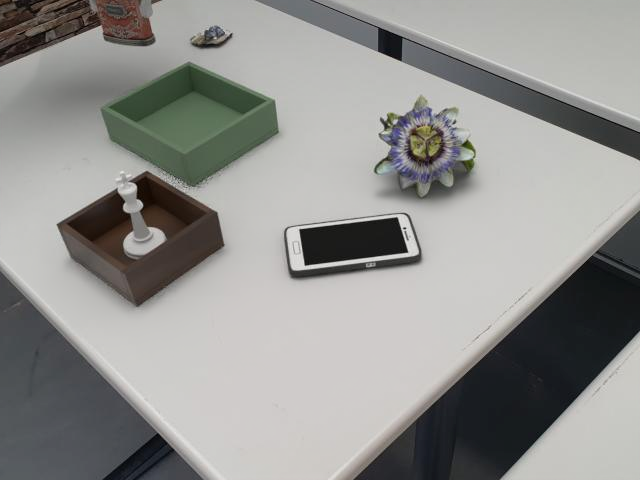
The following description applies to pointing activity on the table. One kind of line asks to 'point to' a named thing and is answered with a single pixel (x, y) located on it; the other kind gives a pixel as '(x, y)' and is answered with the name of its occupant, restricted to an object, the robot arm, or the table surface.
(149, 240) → the chess piece
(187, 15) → the table surface
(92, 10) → the robot arm
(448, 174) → the passion flower
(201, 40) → the mineral rock specimen
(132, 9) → the lighter
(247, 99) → the sage bin
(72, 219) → the walnut bin
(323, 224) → the cell phone
